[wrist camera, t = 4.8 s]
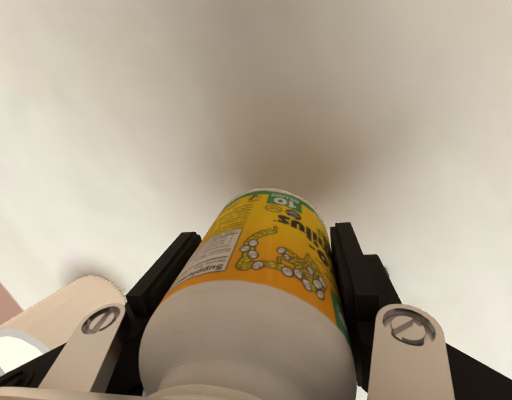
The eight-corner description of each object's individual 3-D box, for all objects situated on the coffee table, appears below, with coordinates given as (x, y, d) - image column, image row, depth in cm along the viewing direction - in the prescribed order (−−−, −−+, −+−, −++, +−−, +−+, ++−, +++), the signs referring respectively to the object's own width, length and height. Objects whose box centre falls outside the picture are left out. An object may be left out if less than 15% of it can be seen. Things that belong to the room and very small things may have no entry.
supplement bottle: (198, 219, 13) (-32, 492, 4) (286, 161, 11) (228, 429, 2) (259, 294, 14) (189, 632, 5) (349, 253, 12) (481, 673, 3)
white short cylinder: (145, 316, 24) (85, 392, 17) (98, 334, 26) (28, 408, 19) (102, 259, 23) (19, 317, 16) (56, 282, 25) (-34, 342, 18)
